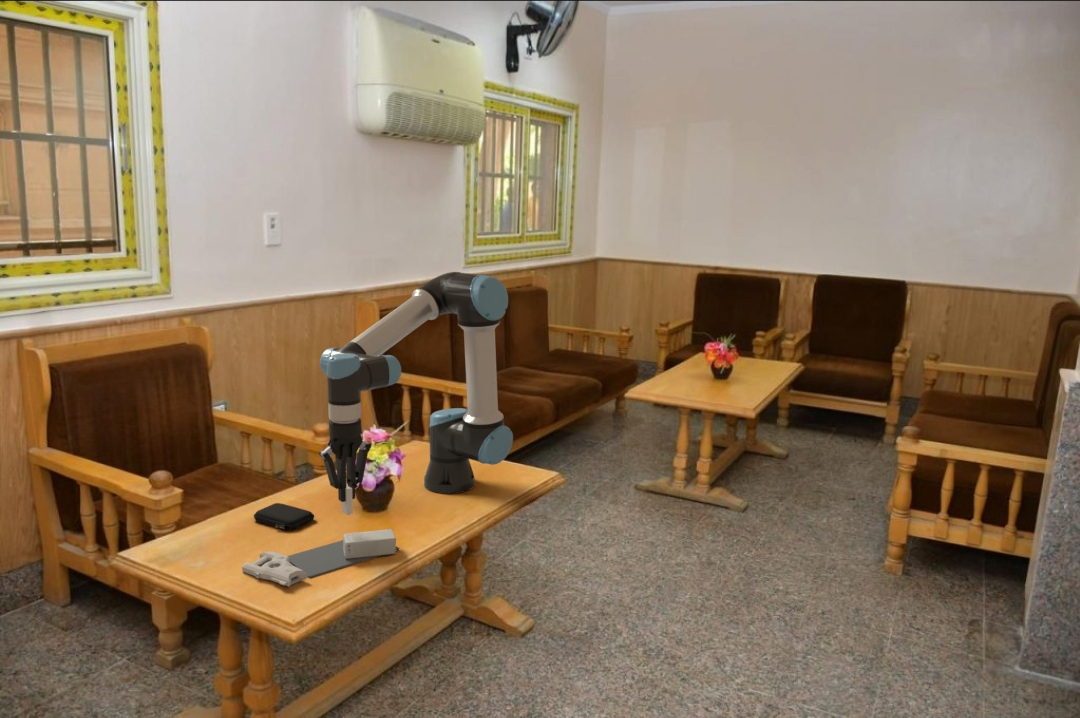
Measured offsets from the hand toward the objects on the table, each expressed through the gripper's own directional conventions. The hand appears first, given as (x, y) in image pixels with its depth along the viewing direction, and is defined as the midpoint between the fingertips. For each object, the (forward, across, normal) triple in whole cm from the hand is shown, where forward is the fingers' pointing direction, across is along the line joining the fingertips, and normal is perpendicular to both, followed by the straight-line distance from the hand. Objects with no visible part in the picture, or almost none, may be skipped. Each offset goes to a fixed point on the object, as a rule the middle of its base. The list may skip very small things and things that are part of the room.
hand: (347, 512), depth 204 cm
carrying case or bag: (+11, +5, -27) cm, 29 cm away
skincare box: (+7, +2, +2) cm, 8 cm away
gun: (+11, +19, 0) cm, 21 cm away
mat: (+10, +2, +1) cm, 10 cm away
